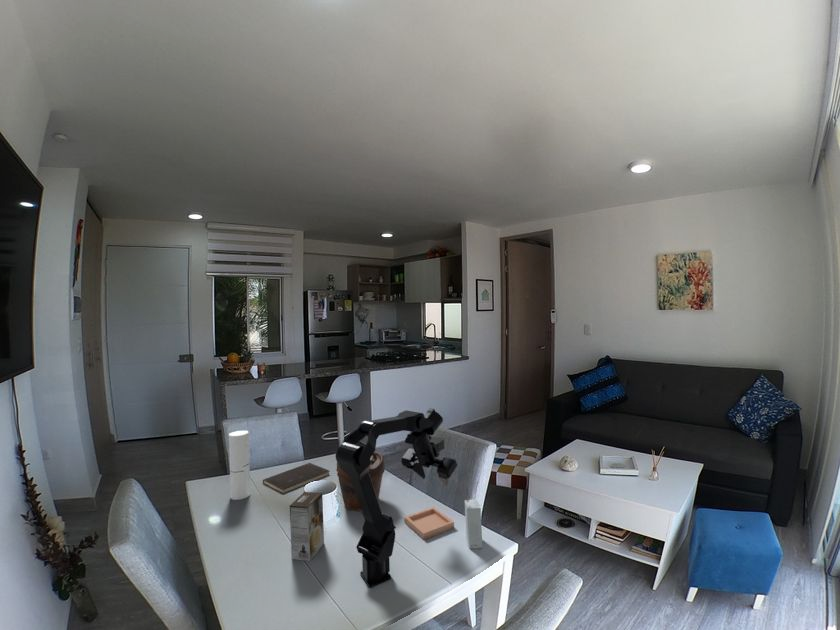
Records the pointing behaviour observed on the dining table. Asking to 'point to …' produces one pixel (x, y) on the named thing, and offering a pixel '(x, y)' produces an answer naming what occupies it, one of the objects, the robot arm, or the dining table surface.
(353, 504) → the brown flower pot
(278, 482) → the hardcover book
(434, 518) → the terracotta dish
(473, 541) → the skincare box
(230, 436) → the cylindrical container
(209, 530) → the dining table surface
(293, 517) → the coffee box
